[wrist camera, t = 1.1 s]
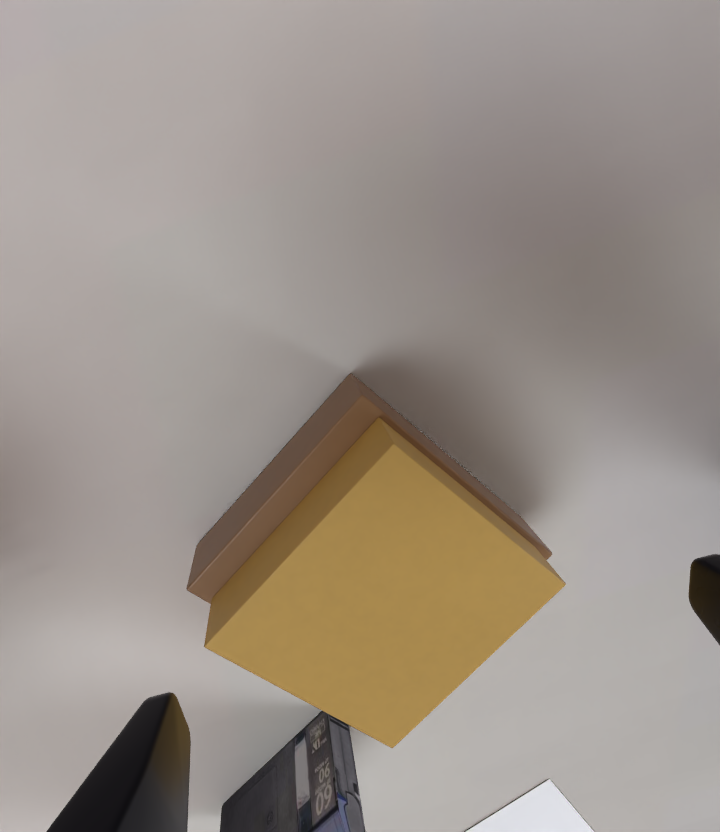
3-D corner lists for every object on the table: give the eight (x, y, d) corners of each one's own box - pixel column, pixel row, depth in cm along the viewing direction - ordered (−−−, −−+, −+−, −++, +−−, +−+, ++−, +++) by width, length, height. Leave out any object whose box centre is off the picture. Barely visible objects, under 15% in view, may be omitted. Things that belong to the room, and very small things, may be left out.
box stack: (521, 517, 25) (587, 593, 20) (379, 658, 26) (406, 762, 21) (350, 372, 21) (376, 418, 16) (195, 545, 22) (173, 638, 17)
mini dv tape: (326, 707, 27) (341, 834, 21) (347, 719, 27) (367, 846, 22) (222, 805, 28) (209, 950, 22) (244, 815, 28) (237, 959, 23)
